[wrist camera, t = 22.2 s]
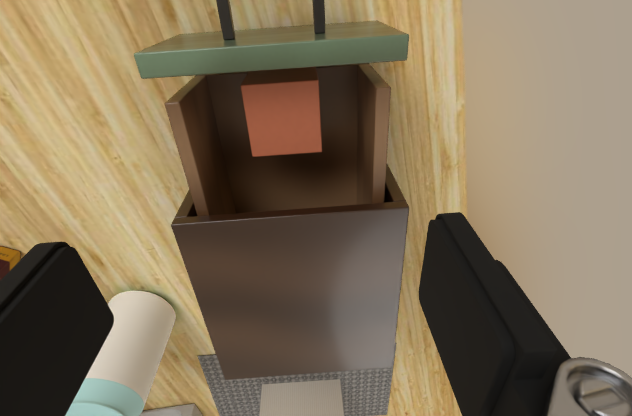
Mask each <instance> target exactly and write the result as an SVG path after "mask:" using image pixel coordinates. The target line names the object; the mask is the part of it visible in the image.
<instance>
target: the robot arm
mask: <svg viewBox="0 0 632 416" xmlns="http://www.w3.org/2000/svg"><path fill="white" fill-rule="evenodd" d="M419 300H420V304H421V307H422V310H423V312H424V315H425V318H426V320H427V323H428V326H429V328H430V331H431V334H432V336H433V339H434V341H435V344H436V347H437V349H438V352H439V355H440V357H441V360H442V363H443V365H444V368H445V371H446V373H447V376H448V379H449V381H450V384H451V387H452V389H453V392H454V395H455V397H456V400H457V403H458V405H459V408H460V411H461V413H462V416H632V378H631V377H630V376H629V375H627V374H626V373H625V372H623V371H621V370H620V369H618V368H616V367H614V366H612V365H610V364H608V363H605V362H602V361H599V360H596V359H592V358H583V357H578V358H572V359H571V357H570V356H569V354H568V353H567V352H566V350H565V349H564V348H563V346H562V345H561V343H560V342H559V341H558V339H557V338H556V336H555V335H554V334H553V332H552V331H551V329H550V328H549V327H548V325H547V324H546V323H545V321H544V320H543V318H542V317H541V315H540V314H539V313H538V311H537V310H536V309H535V307H534V306H533V305H532V303H531V302H530V300H529V299H528V297H527V296H526V295H525V293H524V292H523V290H522V289H521V288H520V286H519V285H518V284H517V282H516V281H515V279H514V278H513V277H512V275H511V274H510V273H509V271H508V270H507V268H506V267H505V266H504V265H503V264H502V263H501V262H500V261H498V260H494V258H493V257H492V255H491V254H490V252H489V251H488V250H487V248H486V247H485V246H484V244H483V242H482V241H481V240H480V238H479V237H478V235H477V234H476V232H475V231H474V230H473V228H472V227H471V225H470V224H469V222H468V221H467V219H466V218H465V217H464V215H463V214H462V213H460V212H458V213H444V214H438V215H437V216H436V219H435V220H430V222H429V226H428V233H427V239H426V246H425V253H424V260H423V266H422V273H421V280H420V286H419ZM113 323H114V315H113V313H112V311H111V309H110V308H109V306H108V304H107V303H106V301H105V299H104V297H103V296H102V294H101V292H100V290H99V289H98V287H97V285H96V284H95V282H94V280H93V278H92V277H91V275H90V273H89V271H88V270H87V268H86V266H85V265H84V263H83V261H82V259H81V258H80V256H79V254H78V252H77V251H76V250H75V248H73V247H70V246H69V245H68V244H67V243H65V242H52V243H40V244H37V245H35V246H34V247H33V248H32V249H31V250H30V251H29V252H28V253H27V254H26V255H25V256H24V257H23V258H22V259H21V260H20V261H19V262H18V263H17V264H16V265H15V266H14V267H13V268H12V269H11V270H10V271H9V272H8V273H7V274H6V275H5V276H4V277H3V278H2V279H1V280H0V416H65V415H66V413H67V412H68V410H69V408H70V406H71V404H72V402H73V400H74V398H75V397H76V395H77V393H78V391H79V389H80V387H81V385H82V383H83V382H84V380H85V378H86V376H87V374H88V372H89V370H90V368H91V366H92V365H93V363H94V361H95V359H96V357H97V355H98V353H99V351H100V350H101V348H102V346H103V344H104V342H105V340H106V338H107V336H108V335H109V333H110V331H111V329H112V327H113Z"/></svg>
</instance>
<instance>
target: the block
mask: <svg viewBox="0 0 632 416" xmlns="http://www.w3.org/2000/svg"><path fill="white" fill-rule="evenodd" d="M241 92H242V98H243V104H244V110H245V115H246V121H247V127H248V133H249V139H250V145H251V151H252V156H253V157H259V156H273V155H287V154H301V153H315V152H322V138H321V118H320V98H319V80H318V76H317V72H316V67H305V68H290V69H276V70H262V71H249V72H248V73H247V75H246V77H245V79H244V80H243V82H242V84H241Z"/></svg>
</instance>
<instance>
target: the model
mask: <svg viewBox="0 0 632 416" xmlns="http://www.w3.org/2000/svg"><path fill="white" fill-rule="evenodd" d="M395 350H396V343H395V347H394V356H393V365H394V357H395ZM198 359H199V361H200V364H201V367H202V369H203V372H204V375H205V377H206V380H207V383H208V385H209V388H210V391H211V393H212V396H213V399H214V402H215V404H216V407H217V410H218V412H219V415H220V416H375V415H387V411H388V403H389V395H390V388H391V380H392V372H393V366H392V367H389V368H376V369H363V370H350V371H337V372H324V373H311V374H298V375H285V376H272V377H259V378H246V379H233V380H225V378H224V375H223V373H222V370H221V367H220V364H219V361H218V358H217V355H204V356H198Z"/></svg>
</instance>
